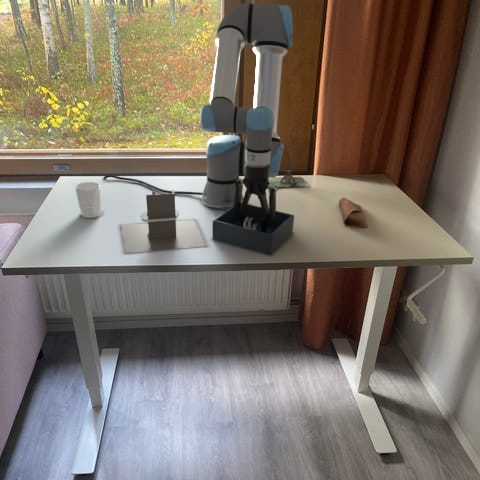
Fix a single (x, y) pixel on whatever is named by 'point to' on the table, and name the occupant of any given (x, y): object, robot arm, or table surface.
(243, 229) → the tote
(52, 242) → the table surface
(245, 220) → the soldier figure
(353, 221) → the sunglasses case
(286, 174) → the eiffel tower figurine
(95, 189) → the white cup
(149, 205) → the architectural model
